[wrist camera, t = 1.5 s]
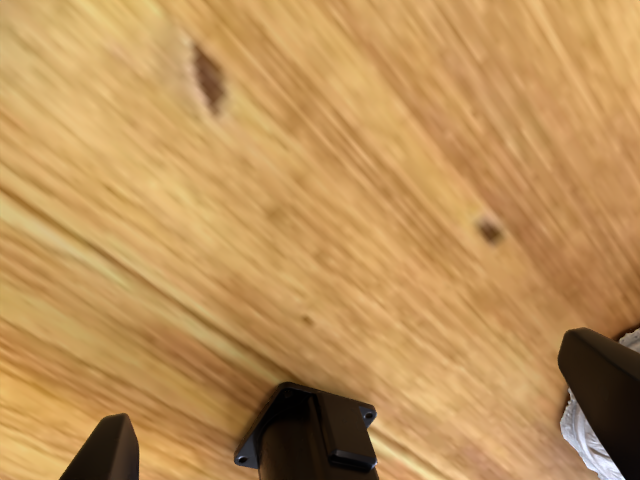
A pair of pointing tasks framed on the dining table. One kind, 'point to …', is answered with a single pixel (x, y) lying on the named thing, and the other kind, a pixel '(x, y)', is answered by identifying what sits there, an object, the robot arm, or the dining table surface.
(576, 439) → the white shell
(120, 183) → the dining table surface
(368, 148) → the dining table surface
